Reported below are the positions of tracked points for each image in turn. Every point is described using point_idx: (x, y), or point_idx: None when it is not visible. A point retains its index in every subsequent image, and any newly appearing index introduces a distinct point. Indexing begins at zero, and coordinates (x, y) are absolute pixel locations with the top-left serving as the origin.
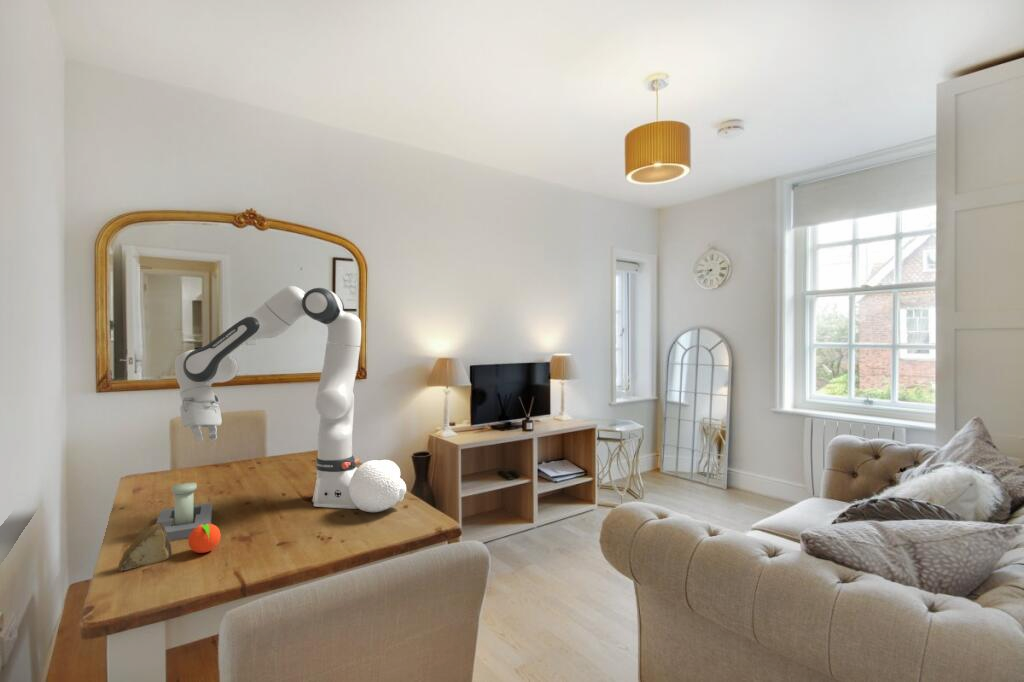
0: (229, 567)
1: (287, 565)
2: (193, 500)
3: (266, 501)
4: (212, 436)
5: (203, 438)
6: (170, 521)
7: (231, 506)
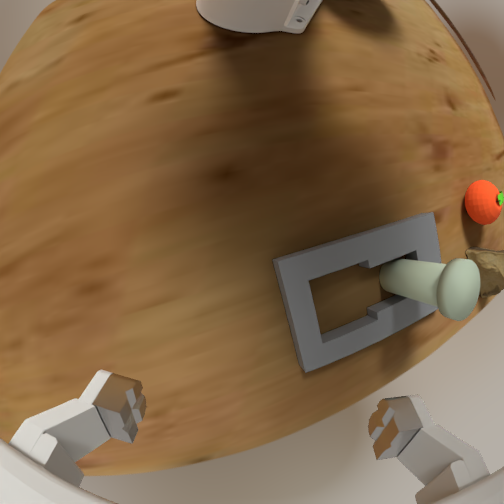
0: (492, 165)
1: (485, 109)
2: (434, 263)
3: (223, 125)
4: (131, 411)
5: (400, 398)
6: (396, 307)
7: (247, 213)
